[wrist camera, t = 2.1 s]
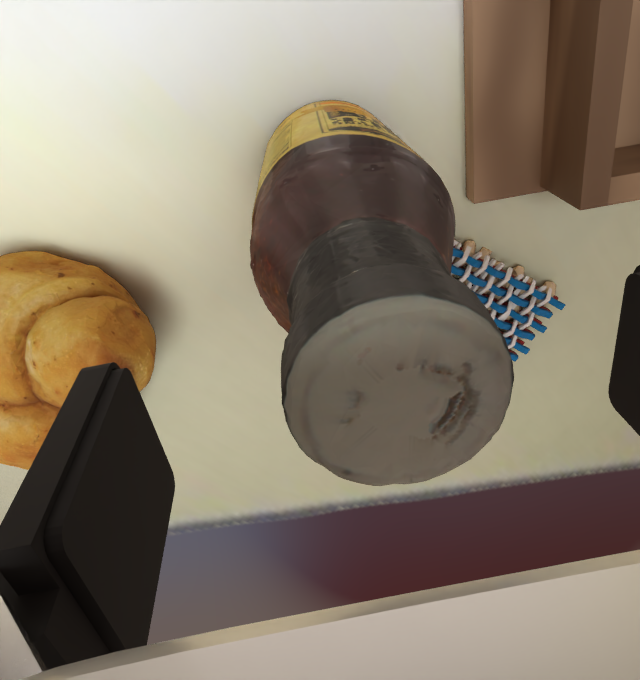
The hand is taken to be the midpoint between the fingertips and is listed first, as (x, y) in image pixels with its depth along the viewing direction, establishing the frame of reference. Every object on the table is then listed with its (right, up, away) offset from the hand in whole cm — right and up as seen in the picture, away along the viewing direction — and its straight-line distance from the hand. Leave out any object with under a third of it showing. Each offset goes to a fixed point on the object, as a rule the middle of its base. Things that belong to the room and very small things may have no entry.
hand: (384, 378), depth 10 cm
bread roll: (-16, +1, +20) cm, 26 cm away
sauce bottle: (-1, +10, +16) cm, 19 cm away
